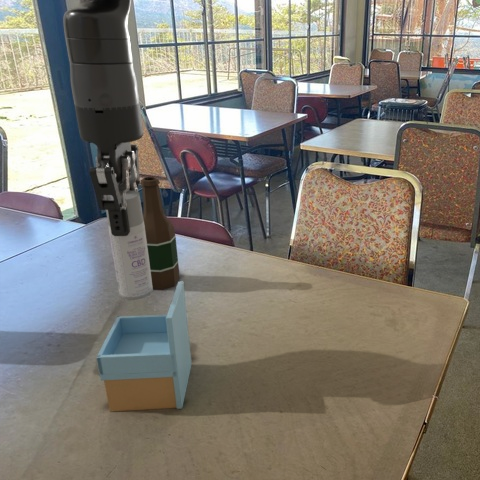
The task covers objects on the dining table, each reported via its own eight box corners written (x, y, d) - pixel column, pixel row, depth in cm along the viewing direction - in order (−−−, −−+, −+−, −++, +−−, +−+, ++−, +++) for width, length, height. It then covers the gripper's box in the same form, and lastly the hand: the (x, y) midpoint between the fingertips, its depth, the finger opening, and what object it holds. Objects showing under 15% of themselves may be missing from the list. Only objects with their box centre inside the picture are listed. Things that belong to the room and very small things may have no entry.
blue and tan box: (107, 413, 71) (88, 321, 64) (125, 367, 80) (111, 283, 74) (182, 409, 72) (171, 318, 65) (191, 364, 81) (183, 280, 75)
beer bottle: (179, 272, 112) (168, 172, 102) (181, 288, 105) (170, 182, 96) (143, 276, 110) (129, 174, 100) (143, 292, 103) (128, 185, 93)
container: (140, 302, 68) (125, 202, 62) (112, 297, 69) (95, 198, 63) (159, 287, 72) (147, 191, 66) (132, 282, 73) (118, 188, 67)
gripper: (94, 93, 66) (112, 210, 73) (52, 109, 53) (80, 250, 60) (150, 94, 67) (163, 209, 74) (123, 109, 54) (142, 248, 60)
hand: (126, 227), depth 67 cm, fingers closed on container, 4 cm apart
